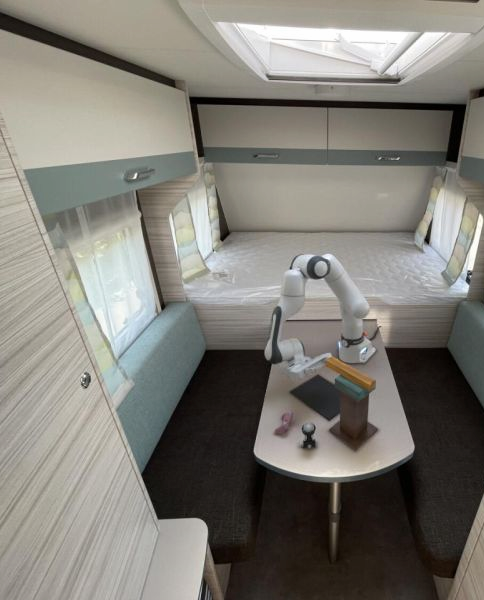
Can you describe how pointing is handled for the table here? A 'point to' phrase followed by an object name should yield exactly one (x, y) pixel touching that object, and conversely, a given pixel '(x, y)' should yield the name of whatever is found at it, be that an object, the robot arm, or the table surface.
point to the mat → (320, 396)
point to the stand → (353, 413)
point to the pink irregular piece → (284, 422)
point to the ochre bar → (350, 373)
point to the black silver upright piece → (308, 435)
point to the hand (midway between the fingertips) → (322, 364)
